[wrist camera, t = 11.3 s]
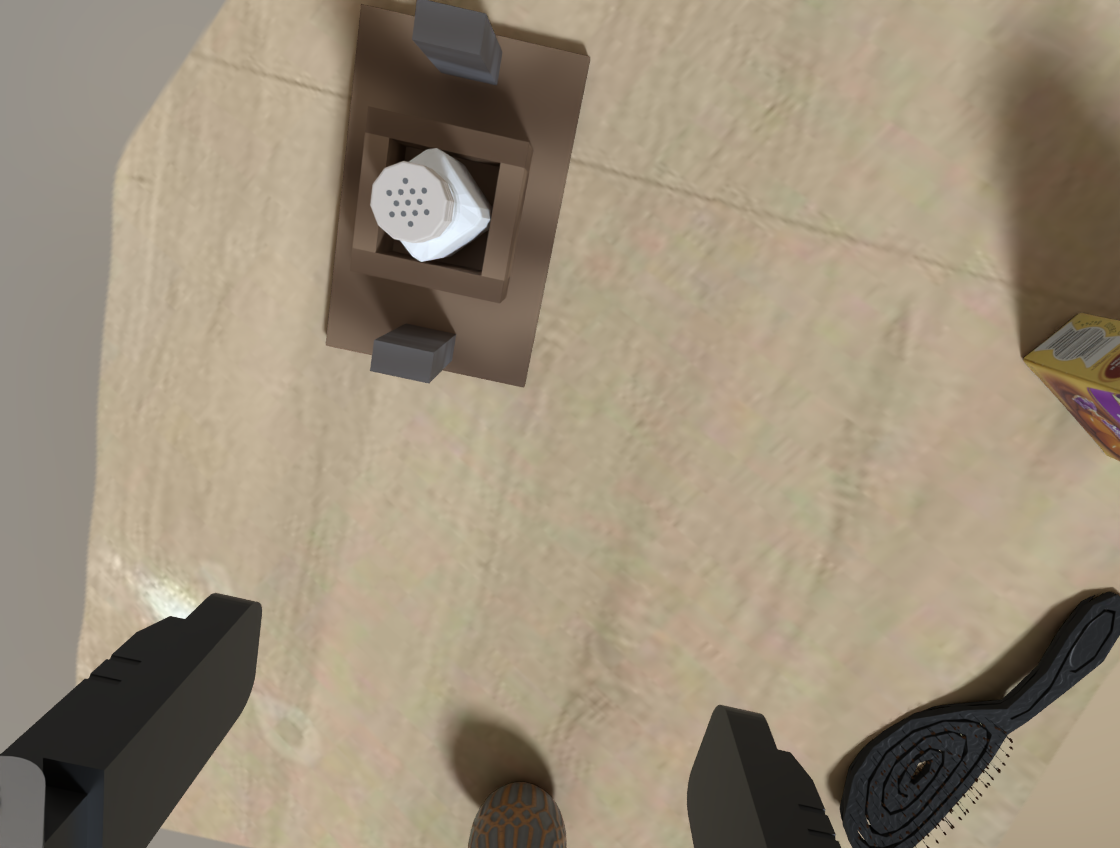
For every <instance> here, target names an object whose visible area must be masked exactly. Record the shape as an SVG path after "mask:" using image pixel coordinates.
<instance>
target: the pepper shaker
mask: <svg viewBox="0 0 1120 848" xmlns="http://www.w3.org/2000/svg"><path fill="white" fill-rule="evenodd" d="M370 206H371V208H372V211H373V214H374V216H375V219H376V221H377V224H378V226H380V227H381V228H382V229H383V230H384V231H385V232H386V233H388V234H389V235H390V236H391V237H392V238H393V239H396V240H400V241H401V242H402V244H403V245H404V246H405V248H406V249H407V250H408V252H409V253H410V254H411V255H412V257H414V258H416V259H417V260H419V261H421V262H423V261H428V260H434V259H439V258H445V257H450V256H452V255H454V254H455V253H456V252H458V251H459V250H461V249H462V248H464V247H465V246H466V245H468V244H469V243H471V242H472V241H473V240H475V239H476V238H478V237H479V236H480V235H482V234H483V233H485V232H486V231H488V230H489V228H490V222H491V216H492V211H493V208H492V206H491V205H490V203H489V202H488V200H487V199H486V197H485V196H484V194H483V193H482V191H481V190H480V188H479V186H478V185H477V183H476V182H475V180H474V179H473V177H472V176H471V174H470V173H469V171H468V170H467V168H466V167H465V165H464V164H462V163H461V162H459V161H458V160H456V159H455V158H453V157H451V156H449V155H448V154H446V153H444V152H443V151H441V150H439V149H438V148H433V149H427V150H425V151H424V152H422V153H421V154H419V155H418V156H416V157H415V158H413V159H412V160H410V161H409V162H406V161H402V162H399V163H396V164H394V165H391V166H388V167H386V168H384V169H383V171H382V172H381V174H380V175H379V176H378V178H377V179H376V180H375V182H374V183H373V185H372V194H371V203H370Z"/></svg>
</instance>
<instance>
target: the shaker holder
mask: <svg viewBox="0 0 1120 848" xmlns="http://www.w3.org/2000/svg"><path fill="white" fill-rule="evenodd" d="M589 63H590V57H589V56H585V55H581V54H576V53H572V52H568V51H563V50H559V49H555V48H550V47H546V46H542V45H537V44H533V43H529V42H524V41H520V40H516V39H511V38H507V37H503V36H498V35H495V33H494V31H493V29H492V26H491V24H490V22H489V19H488V17H487V14H485V13H480V12H476V11H472V10H467V9H463V8H459V7H454V6H450V5H446V4H441V3H437V2H433V1H428V0H417V4H416V12H415V16H411V15H407V14H403V13H398V12H394V11H390V10H385V9H381V8H377V7H372V6H368V5H364V4H361V11H360V21H359V31H358V40H357V50H356V60H355V69H354V79H353V88H352V98H351V108H350V117H349V127H348V136H347V146H346V156H345V165H344V175H343V184H342V194H341V204H340V213H339V223H338V233H337V242H336V252H335V261H334V271H333V281H332V290H331V300H330V309H329V319H328V329H327V338H326V346H331V347H336V348H340V349H345V350H350V351H355V352H359V353H364V354H369V355H372V360H371V368H370V371H373V372H378V373H382V374H387V375H392V376H396V377H401V378H406V379H411V380H415V381H420V382H425V383H430V382H431V381H432V380H433V379H434V378H435V377H436V376H437V375H438V374H439V373H440V372H441V371H442V370H444V371H449V372H453V373H458V374H463V375H467V376H472V377H477V378H481V379H486V380H491V381H496V382H500V383H505V384H510V385H514V386H519V387H524V386H525V382H526V377H527V372H528V367H529V362H530V357H531V352H532V347H533V342H534V337H535V332H536V327H537V322H538V317H539V312H540V307H541V302H542V298H543V293H544V288H545V283H546V278H547V273H548V268H549V263H550V258H551V253H552V248H553V243H554V238H555V233H556V228H557V223H558V218H559V213H560V208H561V203H562V198H563V193H564V188H565V183H566V178H567V173H568V168H569V163H570V158H571V153H572V148H573V143H574V138H575V133H576V128H577V123H578V118H579V113H580V108H581V103H582V98H583V93H584V88H585V83H586V78H587V73H588V68H589ZM433 148H438V149H439V150H441V151H443V152H444V153H446V154H448V155H449V156H451V157H453V158H455V159H456V160H458V161H459V162H461V163H462V164H464V165H465V167H466V168H467V170H468V171H469V173H470V174H471V176H472V177H473V179H474V180H475V182H476V183H477V185H478V186H479V188H480V190H481V191H482V193H483V194H484V196H485V197H486V199H487V200H488V202H489V203H490V205H491V206H492V208H493V211H492V216H491V222H490V228H489V230H488V231H486V232H485V233H483V234H482V235H480V236H479V237H478V238H476V239H475V240H473V241H472V242H471V243H469V244H468V245H466V246H465V247H464V248H462V249H461V250H459V251H458V252H456V253H455V254H454V255H452V256H450V257H445V258H439V259H434V260H428V261H423V262H421V261H419V260H417V259H416V258H414V257H412V255H411V254H410V253H409V252H408V250H407V249H406V248H405V246H404V245H403V244H402V242H401V241H400V240H396V239H393V238H392V237H391V236H390V235H389V234H388V233H386V232H385V231H384V230H383V229H382V228H381V227H380V226H378V224H377V221H376V219H375V216H374V214H373V211H372V208H371V206H370V203H371V194H372V185H373V183H374V182H375V180H376V179H377V178H378V176H379V175H380V174H381V172H382V171H383V169H384V168H386V167H388V166H391V165H394V164H396V163H399V162H402V161H406V162H409V161H410V160H412V159H413V158H415V157H416V156H418V155H419V154H421V153H422V152H424V151H425V150H427V149H433Z"/></svg>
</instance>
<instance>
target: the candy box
mask: <svg viewBox="0 0 1120 848" xmlns="http://www.w3.org/2000/svg"><path fill="white" fill-rule="evenodd" d="M1023 360H1024V362H1025V363H1026V365H1027V366H1028V367H1029V368H1030V369H1031V370H1032V371H1033V372H1034V373H1035V374H1036V375H1037V376H1038V377H1039V378H1040V379H1041V381H1042V382H1043V383H1044V384H1045V385H1046V386H1047V387H1048V388H1049V389H1050V390H1051V392H1052V393H1053V394H1054V395H1055V396H1056V397H1057V398H1058V399H1059V401H1060V402H1061V403H1062V404H1063V405H1064V406H1065V407H1066V409H1067V410H1068V411H1069V412H1070V413H1071V414H1072V415H1073V416H1074V418H1075V419H1076V420H1077V421H1078V422H1079V423H1080V425H1081V426H1082V427H1083V428H1084V429H1085V430H1086V431H1087V433H1088V434H1089V435H1090V436H1091V437H1092V438H1093V439H1094V441H1095V442H1096V443H1097V444H1098V445H1099V446H1100V448H1101V449H1102V450H1103V451H1104V453H1105V454H1106V455H1107V456H1109V457H1112V458H1114V459H1116V460H1118V461H1120V320H1114V319H1109V318H1104V317H1099V316H1094V315H1089V314H1084V313H1079V314H1077V315H1076V316H1075V317H1074V318H1072V319H1071V320H1070V321H1069V322H1067V323H1066V324H1065V325H1064V326H1063V327H1062V328H1060V329H1059V330H1058V331H1056V332H1055V333H1054V334H1053V335H1052V336H1050V337H1049V338H1048V339H1047V340H1046V341H1044V342H1043V343H1042V344H1041V345H1040V346H1038V347H1037V348H1036V349H1035V350H1033V351H1032V352H1031V353H1029V354H1028V355H1027V356H1025V357H1024V359H1023Z"/></svg>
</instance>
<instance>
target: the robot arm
mask: <svg viewBox="0 0 1120 848" xmlns="http://www.w3.org/2000/svg"><path fill="white" fill-rule="evenodd" d="M261 618H262V607H261V604H260V603H259V602H255V601H251V600H246V599H242V598H237V597H233V596H228V595H223V594H219V593H213V594H211V595H210V596H209V597H207V598H206V599H205V600H204V601H203V602H202V603H201V604H200V605H199V606H198V607H197V608H196V609H195V610H194V611H193V612H192V613H191V614H190V615H189V616H188V617H187V618H186V619H182V618H177V617H172V616H169V617H167V618H165V619H163V620H161V621H159V622H157V623H155V624H153V625H151V626H149V627H147V628H145V629H142V630H140V631H138V632H136V633H135V634H134V635H133V636H132V637H131V638H130V639H129V640H127V641H126V642H125V643H124V644H123V645H122V646H121V647H120V648H119V649H117V650H116V651H115V652H114V653H113V654H112V656H111V658H110V659H109V660H108V659H106V660H105V661H104V662H103V663H102V664H101V665H100V666H98V667H97V668H96V669H95V670H94V671H93V672H92V673H91V674H90V677H89V678H88V679H84V680H83V681H82V682H81V683H80V684H78V685H77V686H76V687H75V688H74V689H73V690H72V691H71V692H70V693H68V694H67V695H66V696H65V697H64V698H63V699H62V700H61V701H60V702H58V703H57V704H56V705H55V706H54V707H53V708H52V709H51V710H49V711H48V712H47V713H46V714H45V715H44V716H43V717H42V718H41V719H39V720H38V721H37V722H36V723H35V724H34V725H33V726H32V727H31V728H29V729H28V730H27V731H26V732H25V733H24V734H23V735H22V736H20V737H19V738H18V739H17V740H16V741H15V742H14V743H13V744H12V745H10V746H9V747H8V748H7V749H6V750H5V751H4V752H3V753H1V754H0V848H146V847H147V846H148V844H149V843H150V841H151V840H152V839H153V837H154V836H155V834H156V833H157V832H158V830H159V829H160V827H161V826H162V824H163V823H164V822H165V820H166V819H167V817H168V816H169V815H170V813H171V812H172V810H173V809H174V808H175V806H176V805H177V803H178V802H179V801H180V799H181V798H182V796H183V795H184V793H185V792H186V791H187V789H188V788H189V786H190V785H191V784H192V782H193V781H194V779H195V778H196V777H197V775H198V774H199V772H200V771H201V770H202V768H203V767H204V765H205V764H206V762H207V761H208V760H209V758H210V757H211V755H212V754H213V753H214V751H215V750H216V748H217V747H218V746H219V744H220V743H221V741H222V740H223V739H224V737H225V736H226V734H227V733H228V731H229V730H230V729H231V727H232V726H233V724H234V723H235V722H236V720H237V719H238V717H239V716H240V714H241V713H242V711H243V709H244V707H245V705H246V703H247V701H248V699H249V696H250V693H251V690H252V687H253V684H254V680H255V673H256V664H257V655H258V646H259V636H260V627H261ZM687 810H688V817H689V822H690V828H691V833H692V839H693V844H694V848H841V846H840V844H839V841H836V840H835V835H836V834H835V832H834V829H833V827H832V825H831V822H830V820H829V818H828V816H827V815H825V808H824V806H823V803H822V801H821V799H820V796H819V794H818V791H817V789H816V787H815V784H814V782H813V780H812V779H811V777H810V776H809V775H808V774H807V772H806V771H805V770H804V769H803V767H802V766H801V765H800V764H799V762H798V761H797V760H796V759H795V757H794V756H793V755H792V754H791V753H790V752H786V751H782V750H777V747H776V744H775V742H774V739H773V736H772V734H771V731H770V728H769V726H768V723H767V721H766V719H765V717H764V716H763V715H762V714H760V713H755V712H751V711H746V710H742V709H737V708H733V707H728V706H723V705H718V706H717V707H716V708H715V709H714V711H713V713H712V716H711V719H710V721H709V724H708V727H707V729H706V732H705V735H704V737H703V740H702V743H701V746H700V748H699V751H698V754H697V756H696V759H695V762H694V765H693V767H692V770H691V773H690V777H689V782H688V791H687Z"/></svg>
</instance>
